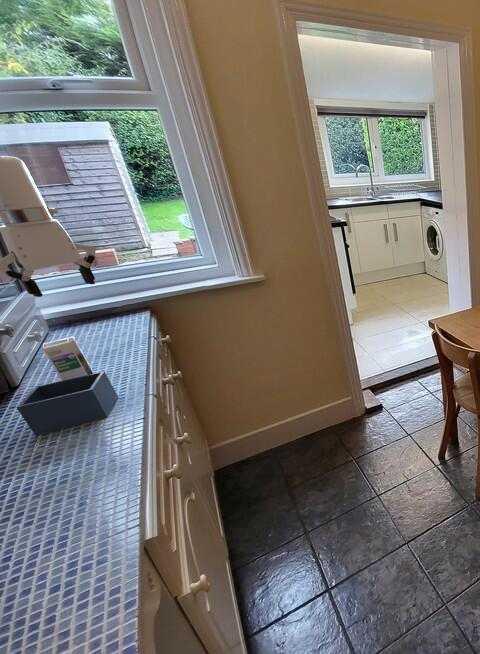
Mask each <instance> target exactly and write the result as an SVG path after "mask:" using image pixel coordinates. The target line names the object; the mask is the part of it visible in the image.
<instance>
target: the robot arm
mask: <svg viewBox="0 0 480 654" xmlns="http://www.w3.org/2000/svg"><path fill="white" fill-rule="evenodd" d="M58 214H59V211H58V209H57V208H55V207H54V208H53V207H49V206H48V205H46V203H45V201H44V199H43V196H42V195H41V193H40V191H39V189H38V187H37V185H36V184H35V181H34V179H33V177H32V175H31V173H30V171H29V169H28V168H27V166H26V164H25V162H24V161H23V160H22V159H21V158H19V157H15V156H7V155H5V156H3V155H2V156H0V218H1V221H2V222H3V224H4V225H0V232H1V233H0V234H1V236H2V239H3V242H4V245H5V246H6V249H7V251H8V253H9V254H7V255H5V256H4V257H3V258H1V259H0V272H1V273H2V274H4V275H5V276H7V277H10V278H13V279H16V280H17V281H21V283H22V285H23V287H24V289H25V290H26V292H27V293H28V294H29V295H32V296H33V297H37V298H42V297H43V293H42V291H41V289H40V287H39V285H38V284H37V281H36V280H35V279H32V278H31V277H32V276H33V274H34V272H35V271H40V270H45V269H49V268H55V267H60V266H65V265H69V264H75V265H76V266H78V271H79V273H80V275H81V277H82V279H83V281H84V283H85V284H86V285H95V284H96V282H95V280H96V277H95V275H94V273H93V271H92V269H91V268H92V264H93V263H94V261H95V259H96V251H97V249H96V247H94V246H89V245H84V244H79V243H74V241H73V239H72V238H71V237H70V235H69V234H68V232H67V231H66V229H65V228H64V227H63V226H62V224H61V223H60V222H59V221H58V220H57V219H54V215H58ZM79 250H80V251H84V252H85V254H86V255H85V256H84V257H83V259H81V258H82V257H81V254H80V252H79ZM12 263H13V264H14V265H15V266H16V267H17V268H18V269H19V270H18V272H17V271H14V270H12V269H10V268H9V267H8V266H9V265H10V264H12Z"/></svg>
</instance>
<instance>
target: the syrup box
mask: <svg viewBox="0 0 480 654" xmlns="http://www.w3.org/2000/svg"><path fill="white" fill-rule="evenodd" d="M42 350H43V353H44V354H45V356H46V358H47V359H48V360H49V362H50V364H51V366H52V367H53V369H54V371H55V372H56V374H57V375H58V377H59V378H60V381H63V380H67V379H71V378H76V377H80V376H85V375H89V374H94V373H95V371H94V370H93V368H92V366H91V364H90V363H89V361H88V359H87V358H86V355H85V354H84V352H83V350H82V349H81V347H80V345H79V343H78V341H77V339H76V338H75V336H74V335H71V336H68V337H65V338H60V339H56V340H52V341H48V342H43V343H42Z"/></svg>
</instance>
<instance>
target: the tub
mask: <svg viewBox="0 0 480 654" xmlns="http://www.w3.org/2000/svg"><path fill="white" fill-rule="evenodd" d="M118 399H119V396H118V394H117V392H116V390H115V388H114V386H113V384H112V382H111V381H110V379H109V377H108V375H107V374H106V371H105V370H102V371H98V372H94V374H89V375H85V376H80V377H76V378H71V379H67V380H63V381H62V380H59V381H54V382H50V383H45V384H42V385H41V384H40V385H37V386H35V387H34V388H33V389H32V390H31V391H30V392H29V393H28V394H27V396H25V397H24V399H22V401H20V403H19V404H17V406H16V409H17V411H18V412H19V414H20V415H21V417H22V418H23V420H24V421H25V424H27V426H28V428H29V429H30V430H31V432H32V433H33V434H34V436H35V437H37V436H41V435H42V436H43V435H45V434H49V433H53V432H57V431H61V430H65V429H68V428H72V427H76V426H80V425H83V424H87V423H91V422H94V421H98V420H102V419H106V418H108V417H109V415H110V413H111V412H110V411H112V410H113V408H114V406H115V405H116V403H117V401H118ZM112 407H113V408H112ZM111 409H112V410H111Z"/></svg>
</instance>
